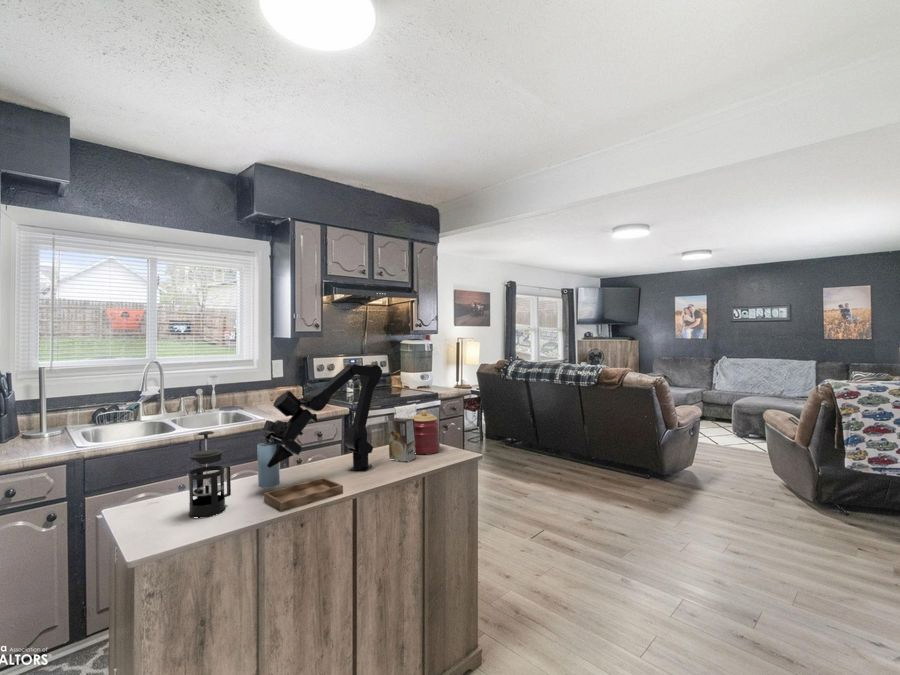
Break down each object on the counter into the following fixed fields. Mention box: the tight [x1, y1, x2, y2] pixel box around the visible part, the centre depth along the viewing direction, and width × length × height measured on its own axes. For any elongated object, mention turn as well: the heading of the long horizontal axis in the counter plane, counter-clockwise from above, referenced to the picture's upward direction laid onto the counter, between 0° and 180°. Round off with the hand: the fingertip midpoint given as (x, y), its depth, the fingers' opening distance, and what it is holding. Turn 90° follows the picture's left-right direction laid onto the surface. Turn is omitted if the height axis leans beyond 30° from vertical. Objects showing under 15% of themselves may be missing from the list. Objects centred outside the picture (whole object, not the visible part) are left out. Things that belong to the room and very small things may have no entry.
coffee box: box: [387, 417, 416, 462], centre depth 180 cm, size 9×6×16 cm
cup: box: [256, 441, 281, 489], centre depth 144 cm, size 6×6×13 cm
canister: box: [410, 409, 441, 455], centre depth 191 cm, size 13×13×18 cm
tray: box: [263, 477, 344, 513], centre depth 139 cm, size 20×12×2 cm, turn 135°
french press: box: [187, 430, 232, 519], centre depth 129 cm, size 12×9×23 cm
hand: (264, 464), depth 143 cm, fingers closed on cup, 6 cm apart
